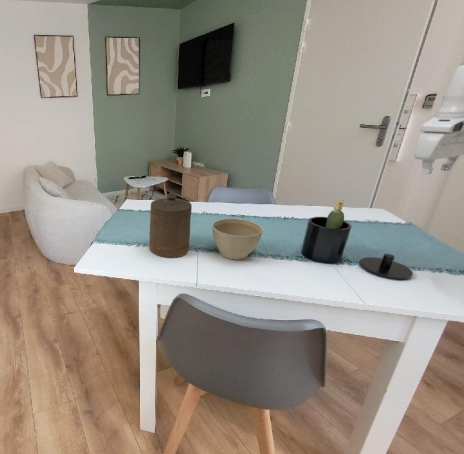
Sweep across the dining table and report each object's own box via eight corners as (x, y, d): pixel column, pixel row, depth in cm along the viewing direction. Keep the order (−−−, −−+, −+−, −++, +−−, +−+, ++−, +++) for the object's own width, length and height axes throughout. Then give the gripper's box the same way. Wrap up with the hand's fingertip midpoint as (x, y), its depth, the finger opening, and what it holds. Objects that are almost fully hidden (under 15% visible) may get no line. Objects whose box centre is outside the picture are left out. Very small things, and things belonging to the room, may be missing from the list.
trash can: (349, 259, 98) (360, 226, 93) (324, 266, 95) (334, 232, 90) (316, 246, 108) (325, 214, 103) (293, 251, 105) (300, 219, 100)
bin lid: (421, 275, 88) (428, 260, 86) (394, 284, 85) (400, 269, 83) (375, 257, 99) (379, 243, 97) (349, 264, 96) (353, 250, 94)
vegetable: (317, 249, 104) (332, 196, 97) (332, 252, 102) (348, 198, 95) (318, 255, 101) (333, 200, 93) (333, 257, 99) (350, 202, 91)
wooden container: (183, 239, 118) (187, 187, 110) (193, 257, 105) (198, 199, 96) (147, 240, 119) (147, 189, 110) (152, 258, 105) (153, 201, 97)
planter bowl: (248, 244, 112) (252, 217, 108) (265, 265, 97) (271, 236, 93) (205, 244, 114) (208, 218, 110) (215, 265, 99) (219, 236, 95)
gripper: (461, 120, 87) (442, 166, 93) (418, 125, 82) (400, 174, 87) (493, 121, 82) (471, 170, 87) (448, 126, 76) (428, 178, 81)
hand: (435, 172), depth 87 cm, fingers open, 8 cm apart
